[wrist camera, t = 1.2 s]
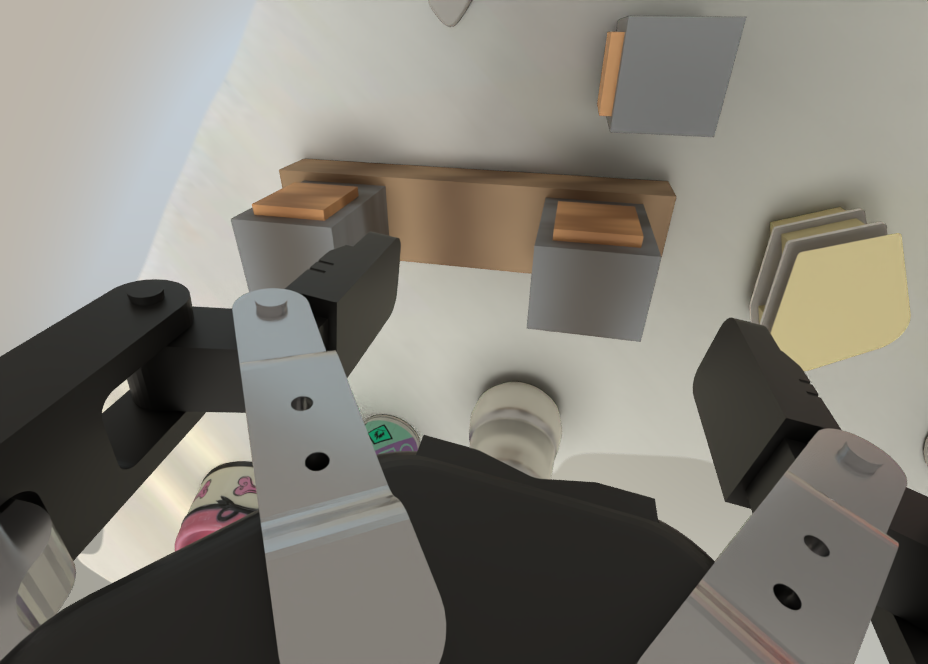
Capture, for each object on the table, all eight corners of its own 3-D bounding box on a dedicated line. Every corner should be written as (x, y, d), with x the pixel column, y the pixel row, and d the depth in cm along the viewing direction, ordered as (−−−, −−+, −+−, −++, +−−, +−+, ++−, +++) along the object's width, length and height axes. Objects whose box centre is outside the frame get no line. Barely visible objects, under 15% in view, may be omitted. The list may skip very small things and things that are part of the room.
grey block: (705, 20, 23) (746, 16, 17) (683, 112, 25) (713, 137, 19) (607, 19, 24) (615, 15, 18) (594, 109, 26) (597, 131, 20)
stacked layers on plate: (703, 202, 27) (727, 237, 23) (897, 155, 24) (970, 184, 20) (718, 347, 32) (740, 400, 27) (884, 323, 29) (941, 378, 24)
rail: (667, 181, 27) (705, 248, 18) (648, 264, 29) (673, 355, 21) (303, 158, 30) (198, 206, 22) (316, 233, 33) (226, 301, 25)
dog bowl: (359, 487, 47) (329, 549, 42) (358, 587, 57) (333, 648, 52) (189, 441, 49) (138, 494, 44) (217, 546, 59) (178, 600, 54)
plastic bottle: (478, 364, 36) (388, 647, 19) (570, 377, 35) (557, 690, 18) (475, 427, 39) (395, 713, 23) (558, 441, 38) (538, 753, 22)
